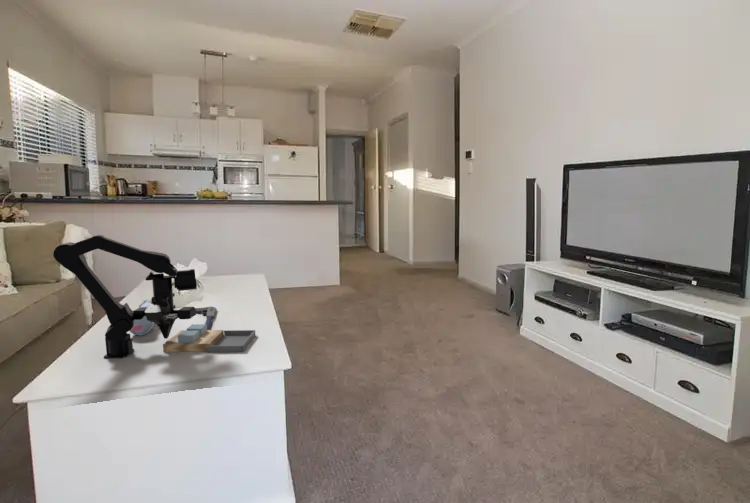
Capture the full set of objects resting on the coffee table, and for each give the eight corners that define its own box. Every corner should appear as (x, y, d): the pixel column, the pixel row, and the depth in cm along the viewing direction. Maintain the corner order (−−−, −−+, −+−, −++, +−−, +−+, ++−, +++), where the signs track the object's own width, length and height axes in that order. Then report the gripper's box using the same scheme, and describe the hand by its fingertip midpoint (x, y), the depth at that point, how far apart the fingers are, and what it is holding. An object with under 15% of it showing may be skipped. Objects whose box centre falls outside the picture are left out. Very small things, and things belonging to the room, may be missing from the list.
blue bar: (188, 307, 188) (217, 304, 192) (188, 312, 189) (218, 309, 192) (175, 332, 156) (210, 328, 159) (176, 338, 156) (211, 334, 159)
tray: (208, 352, 140) (207, 346, 140) (224, 335, 156) (223, 330, 156) (243, 351, 140) (242, 345, 140) (255, 335, 156) (255, 330, 156)
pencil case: (139, 321, 174) (137, 298, 172) (163, 319, 176) (161, 297, 175) (126, 338, 154) (124, 312, 153) (153, 336, 156) (151, 310, 155)
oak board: (163, 351, 141) (162, 344, 140) (181, 337, 155) (181, 330, 154) (209, 351, 141) (209, 343, 141) (223, 336, 155) (223, 330, 155)
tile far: (186, 335, 148) (186, 328, 148) (192, 331, 153) (192, 324, 153) (201, 335, 148) (201, 328, 148) (206, 331, 153) (206, 324, 153)
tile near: (178, 343, 141) (177, 335, 141) (184, 337, 146) (184, 330, 146) (193, 342, 142) (193, 335, 141) (199, 337, 146) (199, 330, 146)
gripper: (120, 298, 133) (124, 347, 136) (181, 298, 134) (184, 346, 136) (139, 290, 144) (142, 335, 147) (195, 289, 145) (198, 334, 147)
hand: (166, 338), depth 144 cm, fingers closed
